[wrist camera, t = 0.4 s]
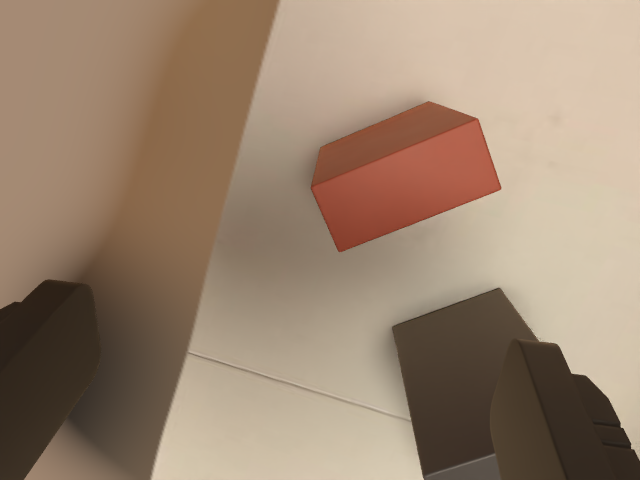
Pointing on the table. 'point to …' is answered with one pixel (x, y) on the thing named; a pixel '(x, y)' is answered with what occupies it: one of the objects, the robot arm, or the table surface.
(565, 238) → the table surface
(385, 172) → the red book
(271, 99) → the table surface
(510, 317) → the grey books
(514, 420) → the robot arm
